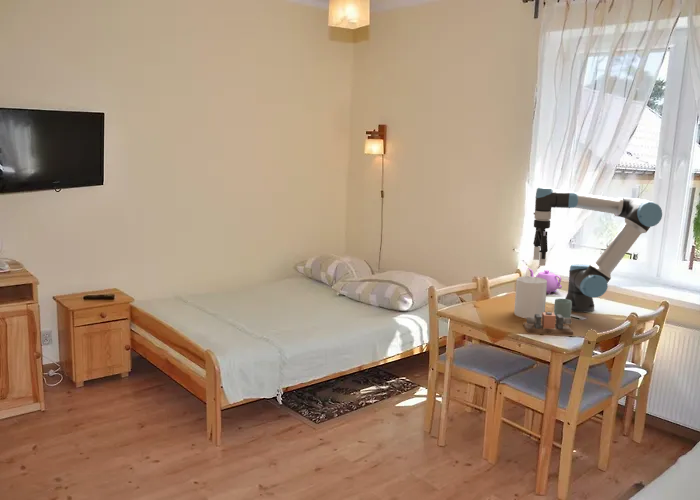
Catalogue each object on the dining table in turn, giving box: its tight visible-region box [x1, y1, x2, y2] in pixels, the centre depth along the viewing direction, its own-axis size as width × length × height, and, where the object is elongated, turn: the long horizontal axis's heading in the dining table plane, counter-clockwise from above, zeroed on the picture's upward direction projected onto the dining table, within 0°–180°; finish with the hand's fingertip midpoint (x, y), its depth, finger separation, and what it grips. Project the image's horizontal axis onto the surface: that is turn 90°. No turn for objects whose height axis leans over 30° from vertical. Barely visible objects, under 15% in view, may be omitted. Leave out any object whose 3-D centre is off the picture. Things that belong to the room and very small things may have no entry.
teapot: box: [527, 268, 563, 295], centre depth 350 cm, size 20×14×12 cm
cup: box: [553, 298, 572, 318], centre depth 296 cm, size 8×8×10 cm
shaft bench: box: [523, 314, 574, 335], centre depth 282 cm, size 20×11×7 cm, turn 85°
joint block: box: [541, 311, 556, 329], centre depth 282 cm, size 5×5×7 cm
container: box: [513, 276, 547, 319], centre depth 304 cm, size 14×14×18 cm
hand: (539, 262), depth 300 cm, fingers open, 13 cm apart
